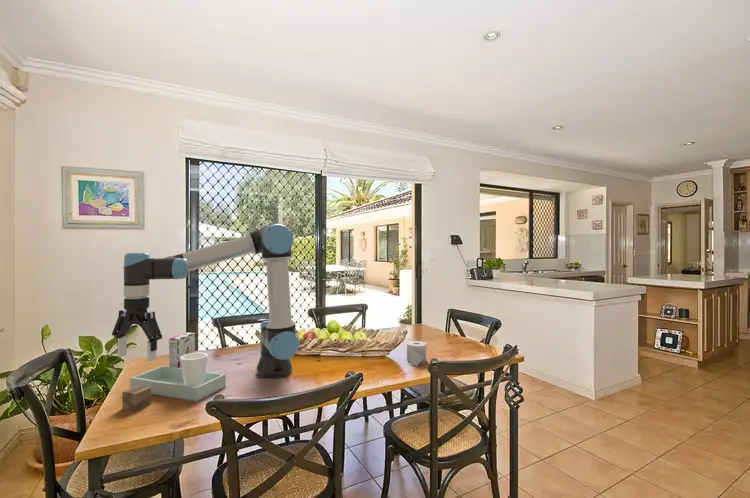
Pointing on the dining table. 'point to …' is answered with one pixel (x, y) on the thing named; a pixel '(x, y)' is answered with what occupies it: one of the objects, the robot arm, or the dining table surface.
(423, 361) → the toilet tissue
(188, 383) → the foam cup
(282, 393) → the dining table surface
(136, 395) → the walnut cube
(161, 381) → the tote
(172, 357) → the candy bar box
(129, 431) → the dining table surface
